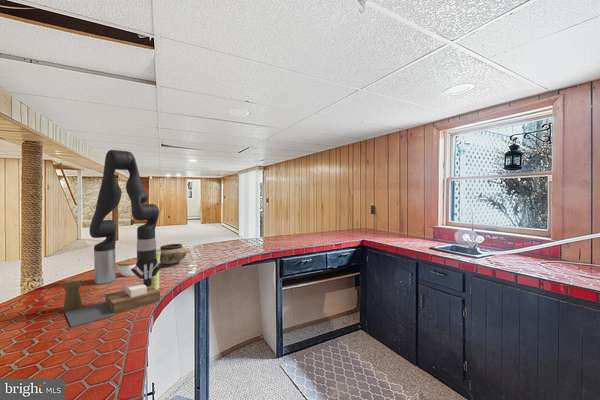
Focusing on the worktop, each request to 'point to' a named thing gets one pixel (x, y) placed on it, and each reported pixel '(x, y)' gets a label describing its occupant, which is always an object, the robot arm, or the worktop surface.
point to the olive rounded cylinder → (72, 296)
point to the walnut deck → (131, 300)
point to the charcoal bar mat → (88, 314)
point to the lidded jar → (126, 267)
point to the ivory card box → (135, 289)
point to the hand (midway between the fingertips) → (147, 286)
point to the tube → (156, 278)
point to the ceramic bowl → (172, 254)
